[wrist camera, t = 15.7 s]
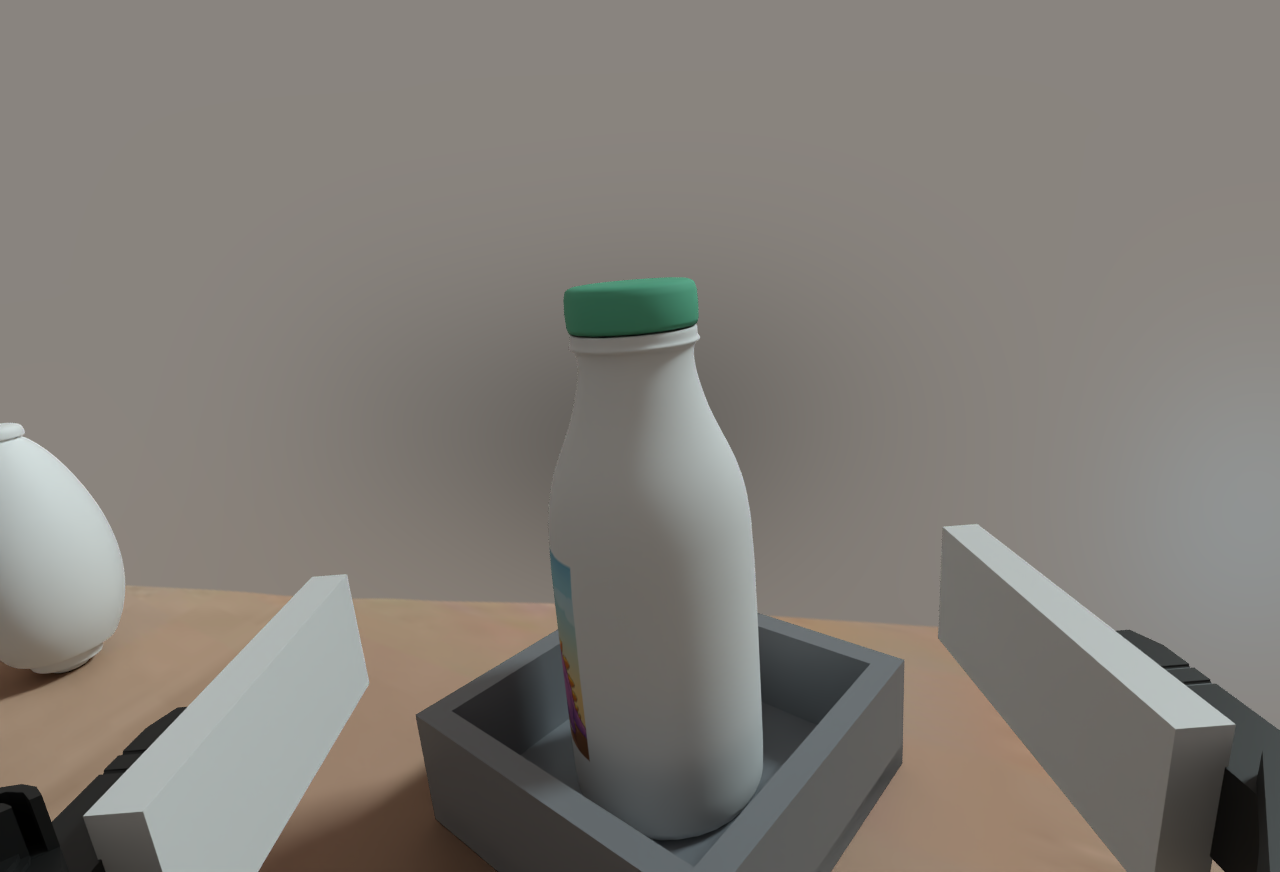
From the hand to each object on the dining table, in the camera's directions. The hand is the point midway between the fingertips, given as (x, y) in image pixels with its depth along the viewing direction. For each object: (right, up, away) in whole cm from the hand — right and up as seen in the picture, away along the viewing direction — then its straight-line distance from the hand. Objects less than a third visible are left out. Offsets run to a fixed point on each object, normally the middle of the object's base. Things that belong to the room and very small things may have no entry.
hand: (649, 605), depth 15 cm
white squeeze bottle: (-36, -11, +28) cm, 47 cm away
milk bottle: (+1, -10, +14) cm, 17 cm away
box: (+1, -11, +14) cm, 18 cm away
